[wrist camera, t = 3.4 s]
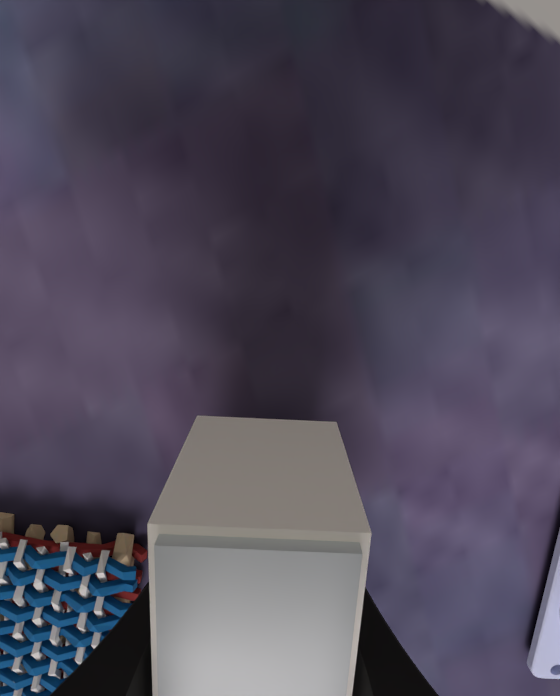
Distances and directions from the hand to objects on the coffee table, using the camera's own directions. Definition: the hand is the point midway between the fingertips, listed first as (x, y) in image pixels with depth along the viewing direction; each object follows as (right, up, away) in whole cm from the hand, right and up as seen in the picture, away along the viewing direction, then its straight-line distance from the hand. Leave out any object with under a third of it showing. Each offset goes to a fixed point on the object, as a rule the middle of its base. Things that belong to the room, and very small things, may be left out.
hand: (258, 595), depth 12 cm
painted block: (0, 0, +2) cm, 2 cm away
